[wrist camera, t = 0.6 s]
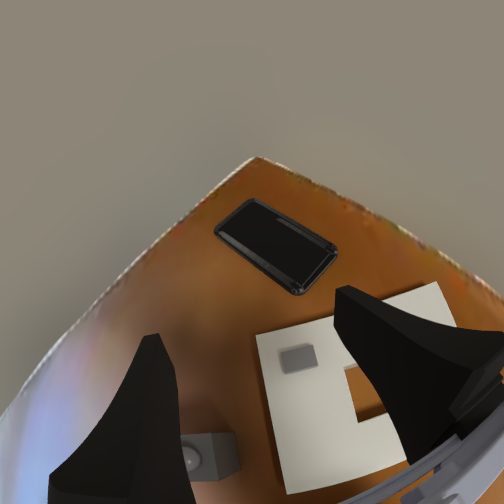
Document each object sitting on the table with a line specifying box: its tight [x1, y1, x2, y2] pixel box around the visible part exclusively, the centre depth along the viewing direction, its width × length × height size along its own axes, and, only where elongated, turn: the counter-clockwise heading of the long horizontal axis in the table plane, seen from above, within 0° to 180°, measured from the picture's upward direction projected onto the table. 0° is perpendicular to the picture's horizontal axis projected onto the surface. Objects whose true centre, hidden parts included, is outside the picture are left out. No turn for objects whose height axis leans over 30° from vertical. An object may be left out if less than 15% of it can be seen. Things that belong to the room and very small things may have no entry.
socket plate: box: [256, 282, 457, 495], centre depth 22 cm, size 16×20×3 cm
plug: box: [180, 432, 241, 481], centre depth 19 cm, size 4×4×8 cm
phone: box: [214, 198, 338, 296], centre depth 35 cm, size 8×1×15 cm
